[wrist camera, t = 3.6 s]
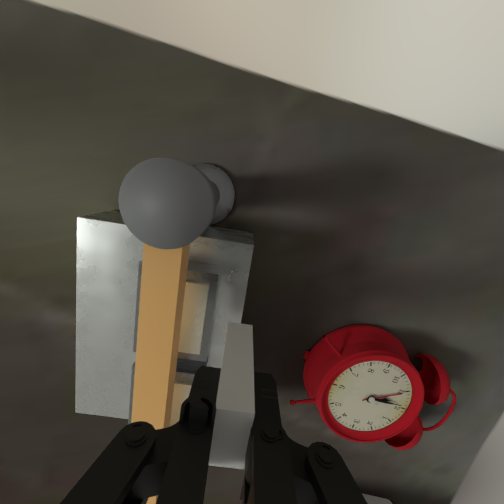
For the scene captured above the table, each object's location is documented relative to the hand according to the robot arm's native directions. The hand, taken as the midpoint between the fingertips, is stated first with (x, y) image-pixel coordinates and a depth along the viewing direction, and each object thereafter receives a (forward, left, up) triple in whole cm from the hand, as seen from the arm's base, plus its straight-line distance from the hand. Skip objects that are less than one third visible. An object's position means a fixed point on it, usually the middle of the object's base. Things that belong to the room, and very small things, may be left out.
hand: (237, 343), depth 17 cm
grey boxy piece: (-6, 0, -9) cm, 10 cm away
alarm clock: (+14, -7, -9) cm, 18 cm away
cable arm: (-4, -1, -8) cm, 9 cm away
